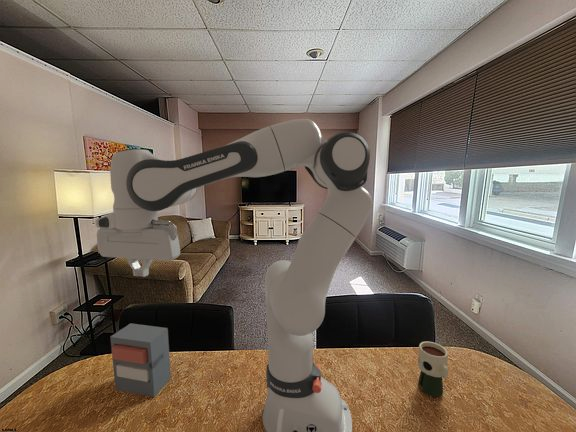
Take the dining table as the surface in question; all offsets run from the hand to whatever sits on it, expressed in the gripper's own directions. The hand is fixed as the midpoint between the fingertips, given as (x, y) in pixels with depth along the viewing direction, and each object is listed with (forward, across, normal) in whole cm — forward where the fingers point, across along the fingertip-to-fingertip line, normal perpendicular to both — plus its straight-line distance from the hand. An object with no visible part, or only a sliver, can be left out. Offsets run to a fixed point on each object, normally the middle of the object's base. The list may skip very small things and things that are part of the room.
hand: (141, 275), depth 61 cm
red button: (+26, +9, -5) cm, 28 cm away
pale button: (+32, +9, -6) cm, 34 cm away
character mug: (+37, -74, -22) cm, 86 cm away
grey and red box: (+37, +9, -7) cm, 39 cm away
